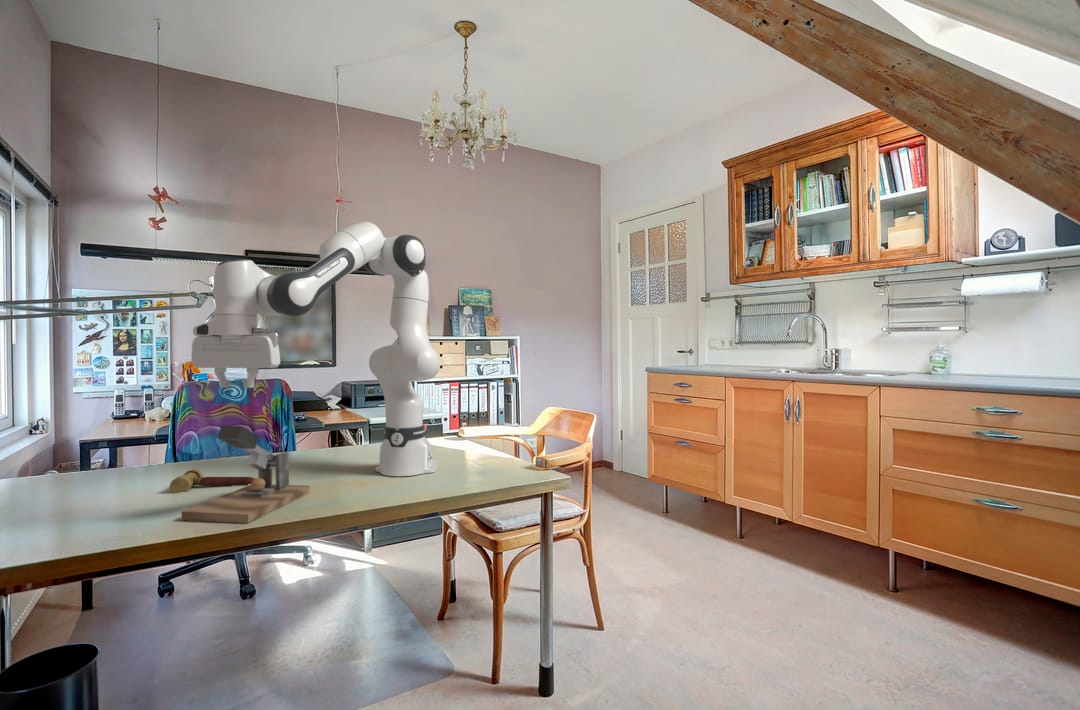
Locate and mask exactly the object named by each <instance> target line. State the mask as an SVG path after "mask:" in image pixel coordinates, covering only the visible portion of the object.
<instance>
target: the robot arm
mask: <svg viewBox="0 0 1080 710" xmlns="http://www.w3.org/2000/svg"><path fill="white" fill-rule="evenodd" d="M425 249H426V248H425V246H424V244H423V242H422V241H421V239H420V238H419V237H418V236H415V235H412V234H401V235H394V236H393V235H392V236H388V237H385V236H384V235H383V232H382V231H381V229H380V228H379V227H378V226H377V225H376V224H374V223H372V222H370V221H362V222H358V223H355V224H352V225H349V226H346V227H345V228H343V229H341V230H339V231H337V232H335V233H333V234H332V235H330V236H329V237H328V238H326V239H325V240H324V241H323V242H322V243H321V244H320V246H319V251H318V252H319V259H320V260H319V261H317V262H316V263H314V264H313V265H311V266H309V267H308V268H306V269H305V270H304V271H294V272H287V273H283V274H279V275H274V274H270V273H269V272H267V271H265V270H263V269H262V268H260V267H259V266H258V265H257V264H256V263H255V262H254V261H253V260H251V259H249V258H248V259H247V258H238V259H237V258H236V259H227V260H223V261H220V263H217V264H216V267H215V271H214V276H213V299H214V302H215V308H214V310H213V319H211V320H209V321H206V322H204V323H202V324H199V325H198V324H197V325H195V326H194V327H193V329H192V334H193V336H195V338H193V340H192V344H191V363H192V365H193V366H194V368H196V369H198V368H199V369H214V370H213V371H214V374H215V376H216V378H217V379H218V381H219V382H218V383H219V388H221V389H223V388H224V389H226V388H227V389H228V388H230V387H231V379H228V378H227V376H226V374H225V373H227V369H246V373H247V374H248V376H247V377H246V379H244V380H242V383H243V384H242V387H243V388H244V389H245V388H246V389H251V388H254V386H255V379H256V378H257V376H258V375H259V369H270V368H271V369H274V368H278V367H279V366H280V365H281V355H280V347H279V334H278V333H277V331H275V330H274V329H272V328H271V327H267V328H261V327H258V315H262V316H266V317H283V316H289V317H297V316H302V315H305V314H307V313H308V312H309V311H311V309H312V308H313V306H315V304H316V302H317V300H318V299H319V297H320V296H321V294H322V293H323V292H325V291H326V290H327V289H329V288H331V286H333V285H334V284H335V283H337V282H338V281H340V279H342V278H343V277H344V276H347V275H349V274H351V273H353V272H355V271H357V270H359V269H360V268H361V267H363V268H365V270H366V271H367V272H368V273H370V274H372V275H373V276H378V277H379V276H380V277H381V276H382V277H383V276H391V278H392V279H393V284H394V285H393V286H394V287H393V290H392V291H393V292H392V299H391V300H392V301H391V307H390V317H389V325H390V326H391V328H392V329H393V330H394V331H395V333H396V335H397V340H398V345H396V344H395V345H385V346H382V347H379V348H377V349H375V350H373V352H371V354H370V356H369V360H368V366H369V369H370V372H371V373H372V375H374V376H375V378H376V379H377V381H378V382H379V385H380V388H381V391H382V394H383V398H384V405H385V407H384V408H385V426H384V429H383V435H384V436H383V438H384V441H383V442H382V443H381V444H380V450H379V463H378V464H379V465H378V466H376V467H375V470H374V471H375V472H378V473H380V474H381V475H384V476H387V477H410V476H417V475H423V474H430V473H435V471H436V470H437V467H438V466H439V465H440V459H437V458H434V457H433V446H432V444H431V443H430V441H428V439H427V438H426V437H425V436H426V431H427V429H428V428H427V424H426V423H424V422H423V420H424V417H423V415H424V413H423V411H424V409H423V407H424V406H423V405H424V404H423V399H422V398H421V396H420V395H419V394H418V393H417V392H416V391H415V389H414V386H413V383H412V382H422V381H423V382H424V381H427V380H432V379H433V378H435V377H436V376H437V375H438V372H439V370H440V368H441V361H440V360H441V359H440V355H439V354H438V352H437V350H435V349H434V348H433V346H432V344H431V341H430V339H429V334H428V326H427V325H428V312H429V300H430V286H429V285H430V283H429V275H428V273H427V272H426V270H425V266H426V261H427V259H426V258H427V257H426V255H427V254H426V250H425ZM423 423H424V424H423Z"/></svg>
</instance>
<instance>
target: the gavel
mask: <svg viewBox="0 0 1080 710" xmlns="http://www.w3.org/2000/svg"><path fill="white" fill-rule="evenodd" d="M254 479H256V478H255V477H252V476H203V473H202V472H201V470H199V469H195V468H193V469H189V470H188V471H186V472H185V473H184V474H183V475H179V476H177V477H176V478H174V479H172V480H171V481H170V484H169V489H170V491H171V492H172V494H181V493H180V492H186V493H187V492H189V491H188V490H191V489H192V487H194V486H195V487H196V486H201V487H231V486H230V485H242V486H249V485H248V484H251V482H252V481H253V480H254Z"/></svg>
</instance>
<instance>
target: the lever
mask: <svg viewBox="0 0 1080 710" xmlns="http://www.w3.org/2000/svg"><path fill="white" fill-rule="evenodd" d="M259 438H260V436H259V435H257V434H255V433H254V432H252V431H250V430H249V429H248V428H246V427H244V426H242V425H221V426H220V429H219V432H218V435H217V439H218V440H220V441H222V442H223V443H225V444H226V445H229V446H230V447H232V448H234V449H241V450H243V451H245V452H246V453H248V454H250V455H249V457H248V460H247V465H248V466H251V467H252V468H253V469H256V470H258V469H266V466H272V467H274V468H276V455H277V454H273V453H272V454H271V453H269V452H270V451H268V450H266V449H264V448H263V447H261V446H259V445H258V440H259Z"/></svg>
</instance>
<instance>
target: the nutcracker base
mask: <svg viewBox="0 0 1080 710" xmlns="http://www.w3.org/2000/svg"><path fill="white" fill-rule="evenodd" d="M268 452H269V453H271V454H273V453H272V451H268ZM275 455H276V467H275V484H273V466H266V469H257V470H258V472H257V473H258V474H257V475H258V477H257V478H255V479H254V480H253V481H252V482H251V485H246V486H244V487H242V488H239V489H236V490H234V491H231V492H229V493H226V494H224V495H221V496H219V497H216V498H213V499H211V500H208V501H206V502H202V503H201V504H198V505H195V506H193V507H190V508H188V509H185V510H182V511H181V521H182V520H186V521H185V522H201V521H214V522H213V523H225V522H238V523H237V524H250V523H252V522H254V521H256V520H257V519H256V518H258V517H260V516H262V515H264V516H266V515H267V514H266V513H268V512H270V511H272V512H274V511H275V510H274V509H276V508H278V507H281V506H283V505H285V504H287V503H289V502H291V501H293V500H295V499H297V498H299V497H301V496H303V495H305V496H307V495H308V493H309V494H310V485H303V484H302V485H299V484H290V474H289V473H290V465H289V463H290V462H289V461H290V459H289V457H290V453H289V451H283V452H281V453H277V454H275ZM306 494H307V495H306ZM303 497H304V496H303ZM301 498H302V497H301ZM299 499H300V498H299ZM297 500H298V499H297ZM295 501H296V500H295ZM293 502H294V501H293ZM291 503H292V502H291ZM289 504H290V503H289ZM287 505H288V504H287ZM285 506H286V505H285ZM283 507H284V506H283ZM281 508H282V507H281ZM278 509H279V508H278ZM273 510H274V511H273ZM276 510H277V509H276ZM270 513H271V512H270ZM265 514H266V515H265ZM268 514H269V513H268ZM262 517H263V516H262ZM260 518H261V517H260ZM255 519H256V520H255ZM258 519H259V518H258ZM253 520H254V521H253ZM215 521H216V522H215ZM251 521H252V522H251ZM249 522H250V523H249Z"/></svg>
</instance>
